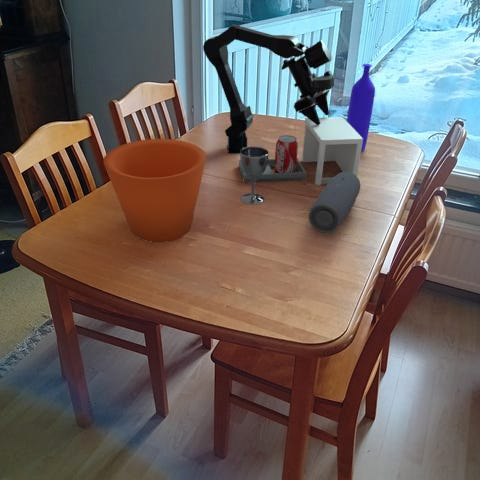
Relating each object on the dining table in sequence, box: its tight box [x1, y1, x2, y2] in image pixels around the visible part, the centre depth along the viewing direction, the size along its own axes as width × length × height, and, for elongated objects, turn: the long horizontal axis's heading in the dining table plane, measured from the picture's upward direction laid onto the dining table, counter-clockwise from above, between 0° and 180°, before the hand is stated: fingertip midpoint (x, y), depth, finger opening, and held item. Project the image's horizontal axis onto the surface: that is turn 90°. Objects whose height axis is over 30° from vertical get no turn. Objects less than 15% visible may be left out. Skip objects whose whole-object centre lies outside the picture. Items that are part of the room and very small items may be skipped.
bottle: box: [346, 63, 376, 152], centre depth 170 cm, size 8×8×30 cm
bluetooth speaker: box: [308, 171, 361, 234], centre depth 132 cm, size 23×9×10 cm, turn 155°
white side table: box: [301, 116, 363, 186], centre depth 156 cm, size 13×20×15 cm, turn 8°
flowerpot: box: [102, 138, 207, 243], centre depth 123 cm, size 25×25×20 cm
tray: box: [238, 157, 307, 183], centre depth 157 cm, size 20×12×2 cm, turn 98°
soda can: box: [274, 134, 299, 173], centre depth 155 cm, size 7×7×12 cm
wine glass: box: [239, 145, 269, 205], centre depth 138 cm, size 8×8×15 cm
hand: (323, 119), depth 157 cm, fingers open, 9 cm apart
